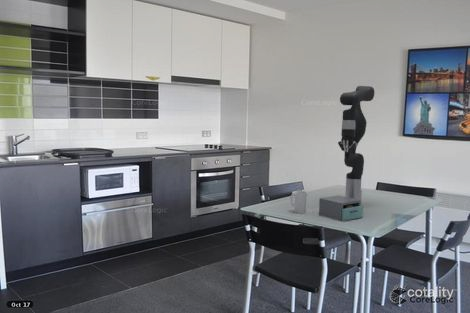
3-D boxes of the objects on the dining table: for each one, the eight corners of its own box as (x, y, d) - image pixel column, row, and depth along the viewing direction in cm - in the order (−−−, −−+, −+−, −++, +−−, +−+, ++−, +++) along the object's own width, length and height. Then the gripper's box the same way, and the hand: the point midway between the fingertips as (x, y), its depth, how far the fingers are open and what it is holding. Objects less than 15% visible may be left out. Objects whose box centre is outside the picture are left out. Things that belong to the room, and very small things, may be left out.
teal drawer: (340, 211, 249) (340, 201, 249) (363, 217, 236) (363, 206, 236) (321, 214, 240) (321, 204, 239) (344, 221, 227) (344, 209, 226)
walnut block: (352, 214, 235) (352, 205, 235) (346, 215, 232) (346, 206, 232) (345, 212, 239) (345, 203, 239) (339, 213, 236) (339, 204, 236)
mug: (308, 212, 248) (308, 191, 247) (302, 214, 243) (303, 193, 241) (293, 209, 254) (293, 189, 253) (287, 211, 249) (287, 191, 247)
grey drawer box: (337, 211, 251) (338, 195, 250) (359, 216, 238) (360, 200, 237) (318, 214, 242) (319, 198, 241) (341, 220, 229) (341, 203, 228)
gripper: (362, 128, 237) (360, 159, 239) (343, 127, 248) (342, 157, 250) (353, 128, 233) (352, 160, 235) (335, 127, 243) (333, 157, 245)
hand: (347, 158), depth 242 cm, fingers closed
